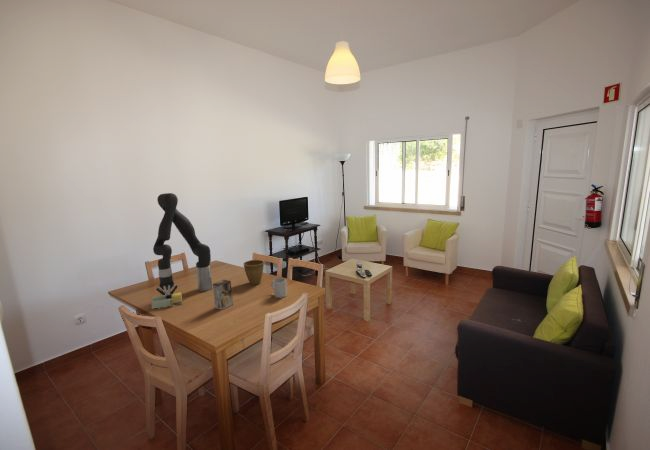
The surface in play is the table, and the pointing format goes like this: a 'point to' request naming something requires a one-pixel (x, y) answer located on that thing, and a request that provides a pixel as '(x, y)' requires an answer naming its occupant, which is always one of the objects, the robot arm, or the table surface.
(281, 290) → the mug
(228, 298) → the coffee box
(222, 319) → the table surface
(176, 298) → the block
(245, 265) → the plant pot
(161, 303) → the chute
